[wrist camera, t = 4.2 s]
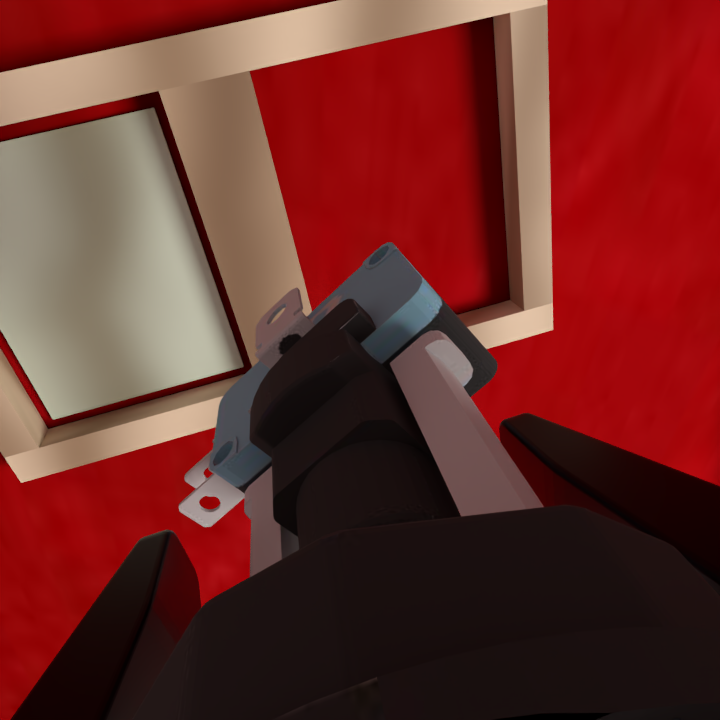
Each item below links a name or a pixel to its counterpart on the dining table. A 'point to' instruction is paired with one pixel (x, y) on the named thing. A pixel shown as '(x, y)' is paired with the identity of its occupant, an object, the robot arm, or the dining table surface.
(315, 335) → the push button
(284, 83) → the dining table surface
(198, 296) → the wooden double frame
